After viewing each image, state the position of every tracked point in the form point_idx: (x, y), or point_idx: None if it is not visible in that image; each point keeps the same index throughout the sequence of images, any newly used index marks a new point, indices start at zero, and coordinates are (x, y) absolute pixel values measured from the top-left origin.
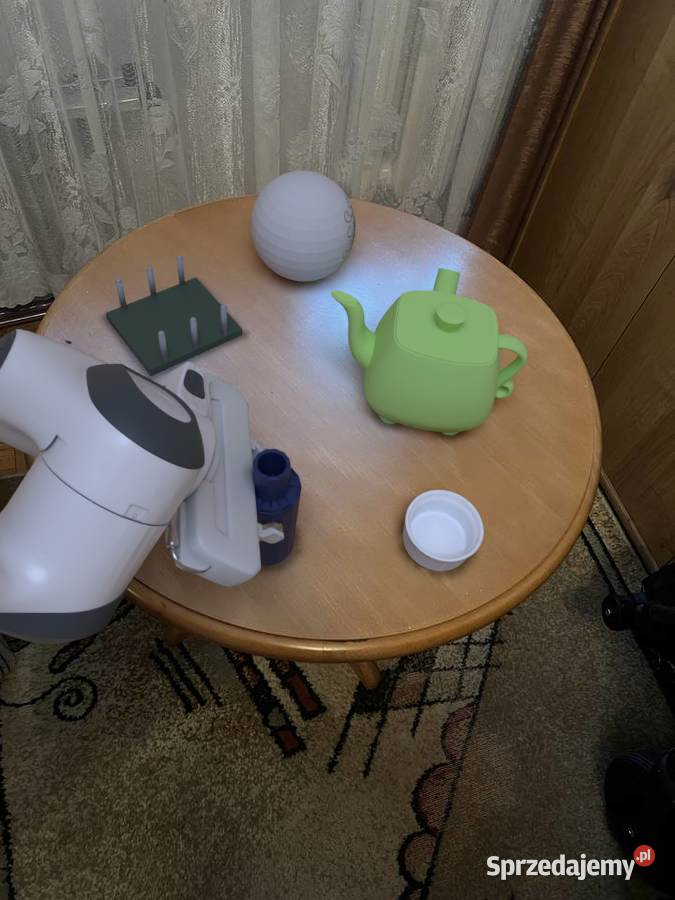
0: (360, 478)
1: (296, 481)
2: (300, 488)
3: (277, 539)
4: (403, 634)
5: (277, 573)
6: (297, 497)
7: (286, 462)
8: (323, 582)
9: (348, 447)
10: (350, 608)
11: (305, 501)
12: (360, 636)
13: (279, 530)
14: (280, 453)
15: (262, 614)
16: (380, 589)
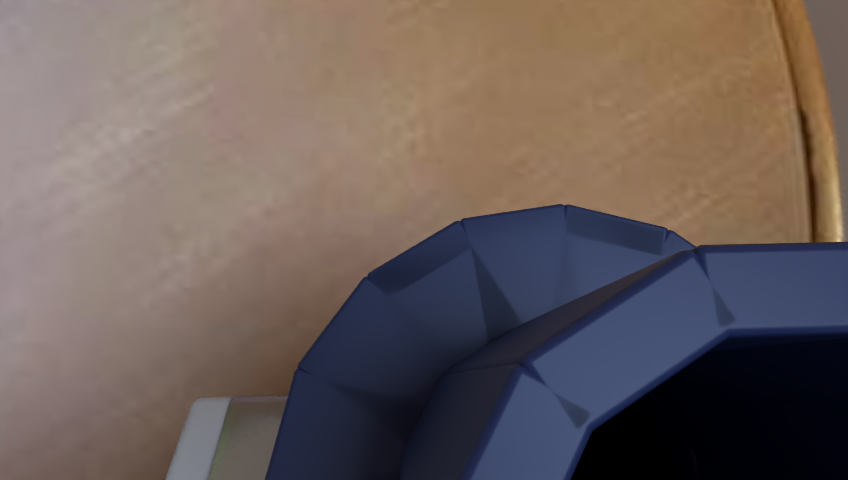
0: (211, 50)
1: (518, 244)
2: (590, 215)
3: None
4: (779, 6)
5: None
6: (681, 248)
7: (779, 324)
8: None
9: (65, 73)
10: (705, 148)
11: (291, 258)
12: (793, 130)
13: None
14: (559, 453)
15: None
16: (638, 48)
